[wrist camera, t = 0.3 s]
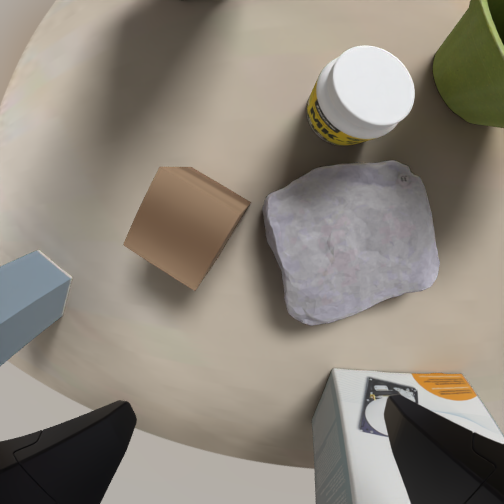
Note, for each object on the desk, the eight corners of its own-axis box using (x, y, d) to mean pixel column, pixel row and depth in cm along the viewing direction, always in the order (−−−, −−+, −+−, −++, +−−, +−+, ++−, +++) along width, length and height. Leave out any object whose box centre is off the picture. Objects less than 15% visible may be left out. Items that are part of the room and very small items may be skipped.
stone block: (253, 196, 23) (292, 319, 23) (244, 187, 18) (293, 341, 18) (393, 154, 21) (427, 273, 21) (416, 138, 16) (456, 282, 17)
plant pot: (443, 2, 14) (507, -53, 3) (525, 102, 16) (606, 93, 5) (375, 66, 17) (445, -3, 6) (472, 181, 19) (574, 200, 8)
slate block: (38, 249, 24) (-44, 288, 13) (72, 277, 24) (-10, 330, 14) (31, 288, 25) (-40, 332, 15) (63, 315, 25) (-7, 372, 15)
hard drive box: (463, 370, 23) (549, 510, 4) (433, 421, 25) (485, 556, 6) (329, 364, 24) (363, 594, 5) (307, 421, 26) (312, 606, 7)
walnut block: (191, 167, 21) (159, 166, 15) (251, 202, 21) (240, 214, 15) (160, 225, 22) (123, 244, 16) (216, 259, 22) (195, 291, 17)
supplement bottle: (293, 122, 19) (301, 91, 11) (326, 71, 18) (352, 19, 10) (350, 160, 19) (394, 155, 11) (382, 109, 18) (436, 80, 10)
